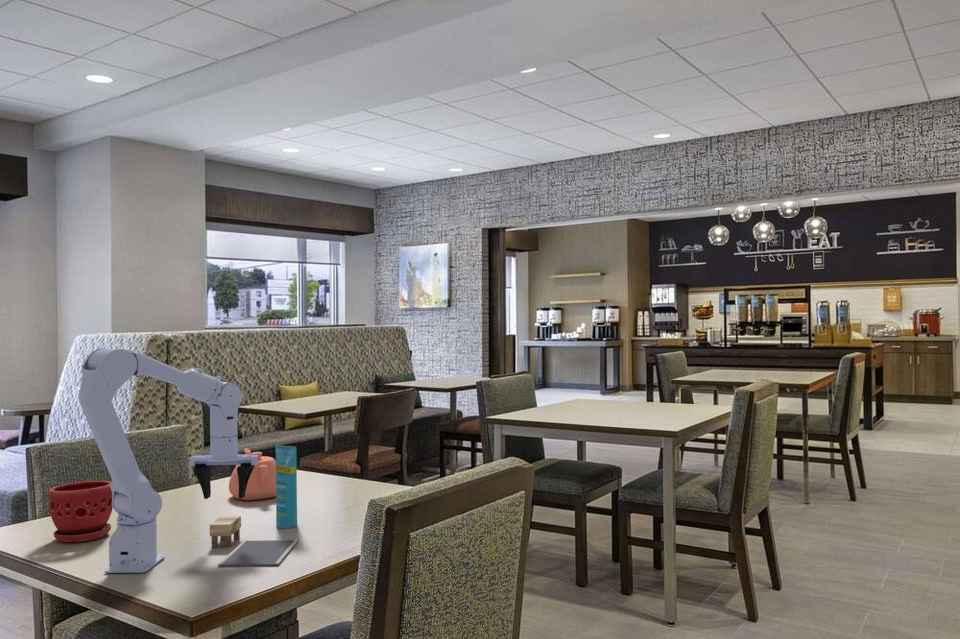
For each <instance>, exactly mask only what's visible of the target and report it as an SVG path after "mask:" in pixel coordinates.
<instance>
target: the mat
mask: <svg viewBox="0 0 960 639" xmlns="http://www.w3.org/2000/svg"><path fill="white" fill-rule="evenodd" d="M298 543H299V539H294V540H293V539H289V540H287V539H286V540H284V539H283V540H281V539H278V540H275V539H274V540H270V539H269V540H243V541H242V542H241V543H239V544H238V545H237V546H236V547H235V548H234V549H233V550H232V551H231V552H230V553H229V554H227V555H226V556H225V557H224V558H223V559H222V560H221V561H220V562H219V563H218V564H217V567H218V568H220V567H222V568H223V567H225V568H226V567H279V566H280V565H281V564H282V563H283V561H284V560H285V559H286V558H287V556H288V555H289V553H291V551H293V549H294V548H295V547H296V546H297V544H298Z"/></svg>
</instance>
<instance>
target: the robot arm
mask: <svg viewBox="0 0 960 639" xmlns="http://www.w3.org/2000/svg"><path fill="white" fill-rule="evenodd" d="M81 374H82V377H81V380H80V382H81V383H80V388H79V394H78V401H79V402H78V403H79V404H80V408H81V409H82V412H83V414H84V416H85V418H86V421H87V423H88V426H89V428H90V430H91V432H92V435H93V438H94V440H95V443H96V445H97V447H98V449H99V451H100V452H99V453H100V454H101V457H102V459H103V461H104V464H105V466H106V469H107V471H108V473H109V476H110V477H111V482H112V483H111V485H110V488H111V490H112V495H113V497H112V506H113V508H112V509H113V510H114V511H115V512H116V513H117V518H116V529H115V531H114V532H113V533H112V535H111V536H110V538H109V541H108V555H109V557H108V560H109V561H108V563H109V564H108V565H109V566H108V568H106V569H105V570H104V573H105V574H117V573H118V574H125V573H128V574H129V573H130V574H132V573H140V574H141V573H146V572H147V571H149V570H150V569H152V568H153V567H154V566H156V565H157V564H158V563H160V562H161V561H162V560H164V559H165V558H166V556H165V554H158V544H157V543H158V541H157V540H158V538H157V537H158V535H157V532H158V530H157V528H158V527H157V526H158V525H157V517H158V515H159V514H160V512H161V511H162V507H163V500H162V497H161V495H160V493H159V492H157V491H156V490H154V488H152V486H151V483H150V481H149V479H147V478H146V476H145V475H144V474H143V473H142V472H141V469H140V468H139V465H138V462H137V460H136V458H135V455H134V453H133V451H132V448H131V445H130V442H129V441H128V440H129V439H128V438H127V435H126V433H125V431H124V428H123V427H122V426H123V425H122V424H121V421H120V418H119V415H118V414H117V411H116V409H115V406H114V404H113V398H114V397H115V395H116V394H117V392H118V390H119V389H120V388H121V387H122V386H124V384H126V382H128V381H129V380H130V379H131V377H133V376H135V377H136V376H137V377H138V376H139V377H140V376H143V375H144V376H146V377H147V376H148V377H150V378H154V379H156V380H159V381H163V382H166V383H168V384H171V385H175V386H176V388H177V391H178V392H179V394H180V395H182V396H183V395H184V396H186V397H190V398H192V399H195V400H197V401H200V402H203V403H206V405H208V407H209V436H210V440H209V443H210V450H209V451H210V452H209V453H210V454H205V455H203V454H202V455H192V456H190V457H189V466H190V467H194V468H192V471H193V472H192V473H193V474H194V476H195V477H196V479H197V480H198V483H199V485H200V488H201V491H202V495H203V499H204V500H207V499H209V498H211V493H212V491H211V490H212V488H211V486H212V485H211V479H212V478H211V476H212V468H213V466H236V465H241V466H239V467H237V473H238V480H239V498H243V497H245V492H246V487H247V483H248V480H249V478H250V475H251V473H252V471H253V469H254V466H255V465H256V464H258V455H245V453H244V454H242V453H241V454H239V453H238V451H239V449H238V445H239V444H238V436H239V435H238V414H239V406H240V404H241V403H242V400H243V397H244V396H243V394H242V393H241V389H240V387H238V385H237V384H235V383H234V382H228V381H227V382H224V381H222V377H220V376H212V375H209V374H207V373H204V369H202V368H200V367H194V368H188V369H186V370H184V371H183V370H181V369H178V368H176V367H173V366H171V365H169V364H166V363H164V362H163V361H160V360H157V359H155V358H152V357H150V356H148V355H146V354H142V353H140V352H135V351H130V350H128V349H125V348H117V349H114V348H113V349H111V348H105V347H100V348H96V349H94V350H92V352H90V353H89V354H88V356H87V357H86V358H85V361H84V362H83V363H82V365H81Z"/></svg>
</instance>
